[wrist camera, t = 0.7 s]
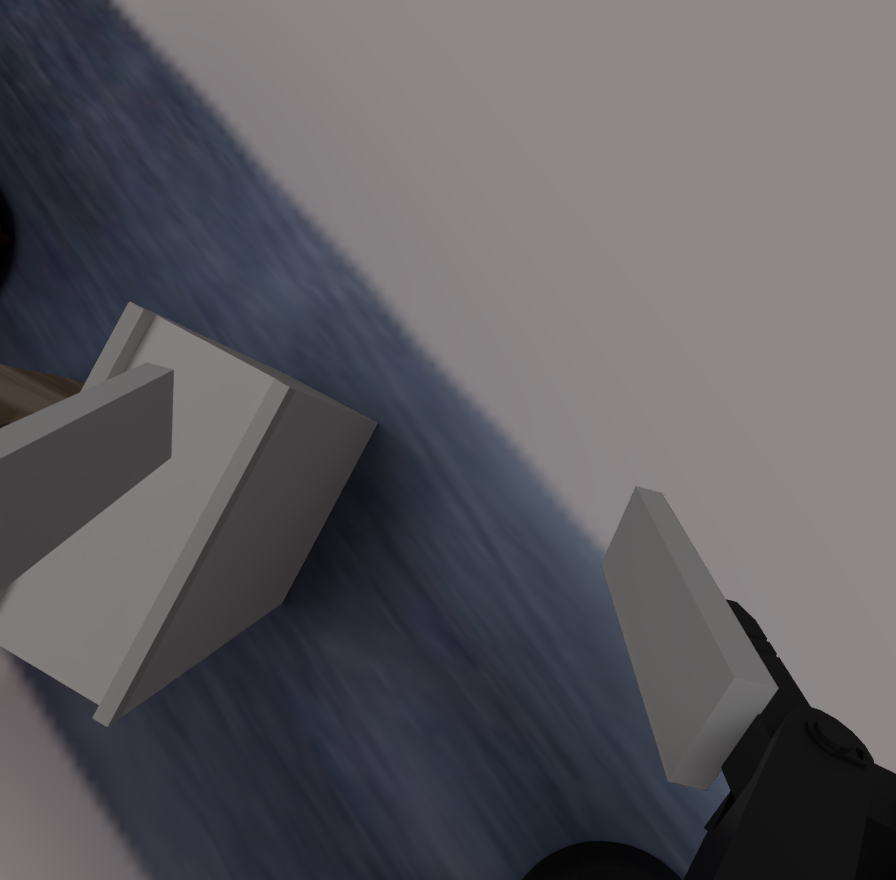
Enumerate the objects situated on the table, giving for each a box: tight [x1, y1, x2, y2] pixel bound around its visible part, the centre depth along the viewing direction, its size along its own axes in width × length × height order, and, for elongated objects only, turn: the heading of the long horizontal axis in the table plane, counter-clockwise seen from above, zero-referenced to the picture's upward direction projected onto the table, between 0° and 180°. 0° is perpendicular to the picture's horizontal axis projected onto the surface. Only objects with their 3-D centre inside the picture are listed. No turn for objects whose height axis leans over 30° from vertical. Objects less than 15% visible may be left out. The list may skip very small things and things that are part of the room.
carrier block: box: [0, 301, 378, 727], centre depth 32 cm, size 16×8×20 cm, turn 152°
